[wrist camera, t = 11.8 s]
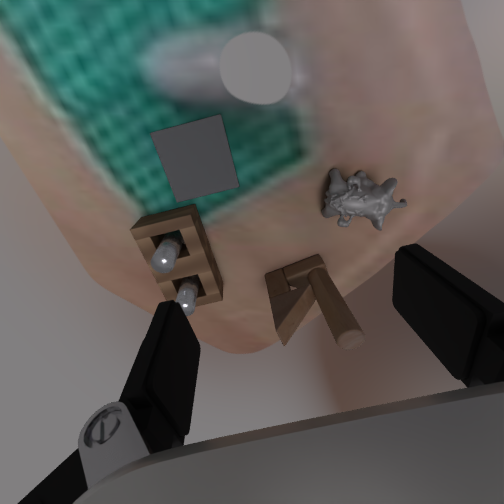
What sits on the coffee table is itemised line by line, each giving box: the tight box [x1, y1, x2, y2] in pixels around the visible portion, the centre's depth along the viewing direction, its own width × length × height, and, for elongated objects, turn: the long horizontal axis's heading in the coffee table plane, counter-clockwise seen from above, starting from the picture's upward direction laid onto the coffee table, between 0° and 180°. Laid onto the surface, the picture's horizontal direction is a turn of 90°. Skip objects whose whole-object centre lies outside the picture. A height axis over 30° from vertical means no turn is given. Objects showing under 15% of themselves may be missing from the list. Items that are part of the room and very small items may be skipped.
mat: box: [150, 114, 239, 202], centre depth 36 cm, size 10×10×1 cm
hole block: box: [130, 204, 223, 307], centre depth 41 cm, size 16×9×5 cm, turn 13°
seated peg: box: [175, 274, 200, 316], centre depth 41 cm, size 3×3×10 cm
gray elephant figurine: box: [322, 169, 407, 231], centre depth 37 cm, size 9×12×8 cm
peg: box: [151, 230, 184, 273], centre depth 37 cm, size 3×3×10 cm
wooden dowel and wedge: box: [265, 255, 365, 350], centre depth 39 cm, size 4×11×18 cm, turn 113°
